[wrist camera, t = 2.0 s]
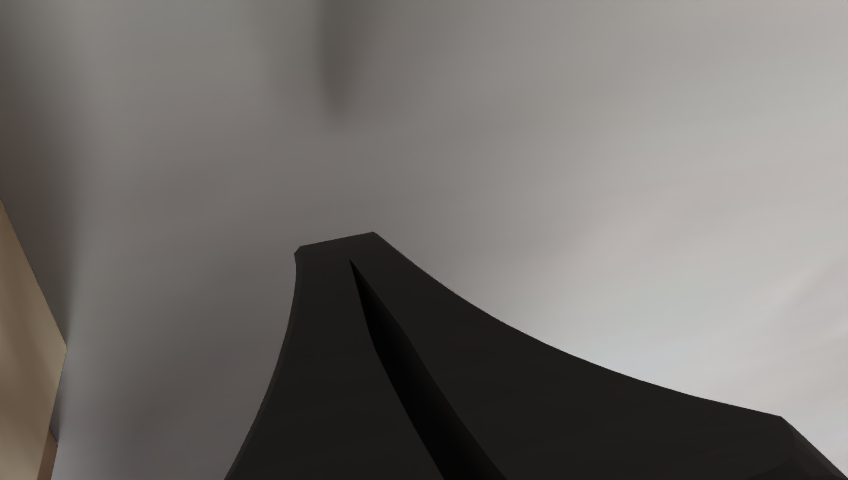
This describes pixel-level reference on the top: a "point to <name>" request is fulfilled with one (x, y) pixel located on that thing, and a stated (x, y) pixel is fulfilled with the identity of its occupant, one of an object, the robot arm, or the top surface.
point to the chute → (48, 458)
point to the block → (24, 361)
